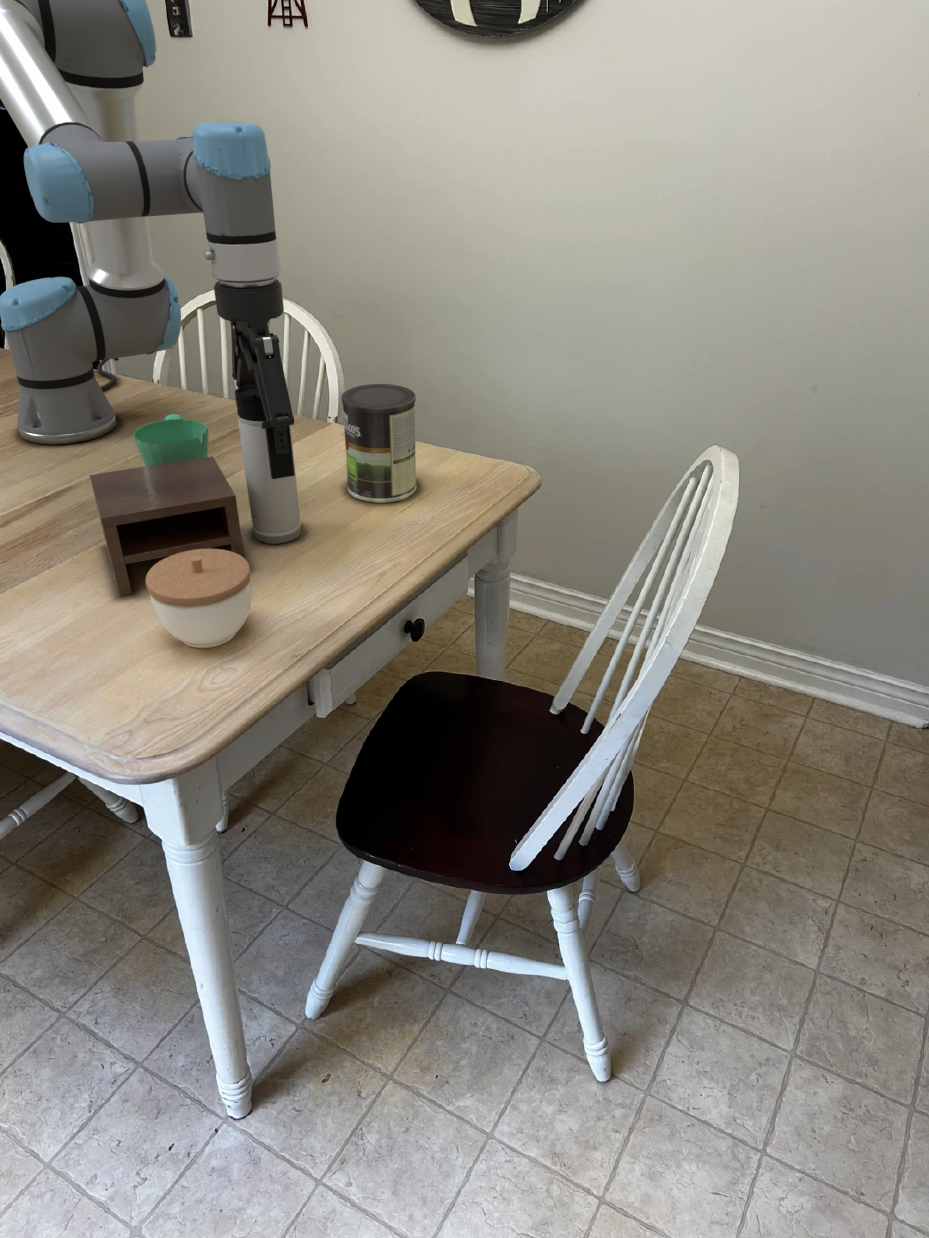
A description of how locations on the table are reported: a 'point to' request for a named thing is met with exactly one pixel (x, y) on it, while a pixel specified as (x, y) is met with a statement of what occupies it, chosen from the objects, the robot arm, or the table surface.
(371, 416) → the coffee can
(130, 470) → the shelf
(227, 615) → the trinket box
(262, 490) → the travel mug
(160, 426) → the mug
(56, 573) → the table surface
